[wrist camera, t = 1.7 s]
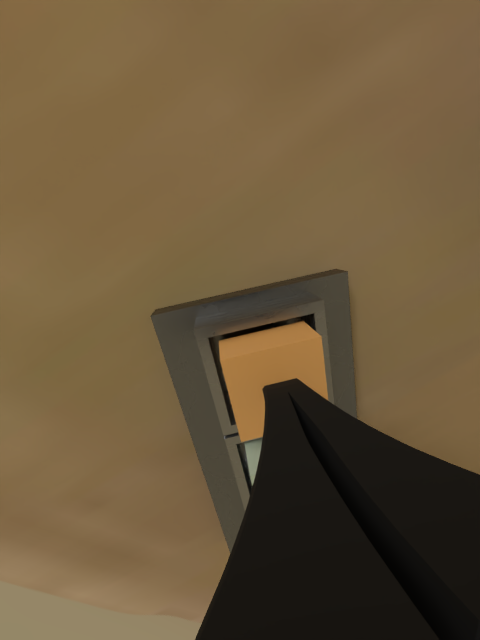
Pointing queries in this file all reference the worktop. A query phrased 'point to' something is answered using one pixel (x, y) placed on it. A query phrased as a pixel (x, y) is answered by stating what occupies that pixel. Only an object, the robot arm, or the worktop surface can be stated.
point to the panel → (208, 379)
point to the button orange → (269, 369)
